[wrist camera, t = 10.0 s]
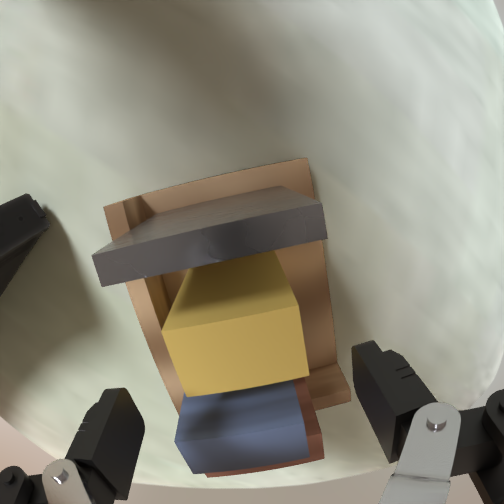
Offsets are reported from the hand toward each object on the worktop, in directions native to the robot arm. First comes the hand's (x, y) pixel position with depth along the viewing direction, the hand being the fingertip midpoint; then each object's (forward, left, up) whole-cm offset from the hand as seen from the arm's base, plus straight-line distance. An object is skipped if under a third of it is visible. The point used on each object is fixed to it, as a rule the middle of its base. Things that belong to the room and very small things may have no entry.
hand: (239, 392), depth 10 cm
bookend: (-5, 0, -12) cm, 12 cm away
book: (0, 0, -12) cm, 12 cm away
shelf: (+2, 0, -13) cm, 13 cm away
